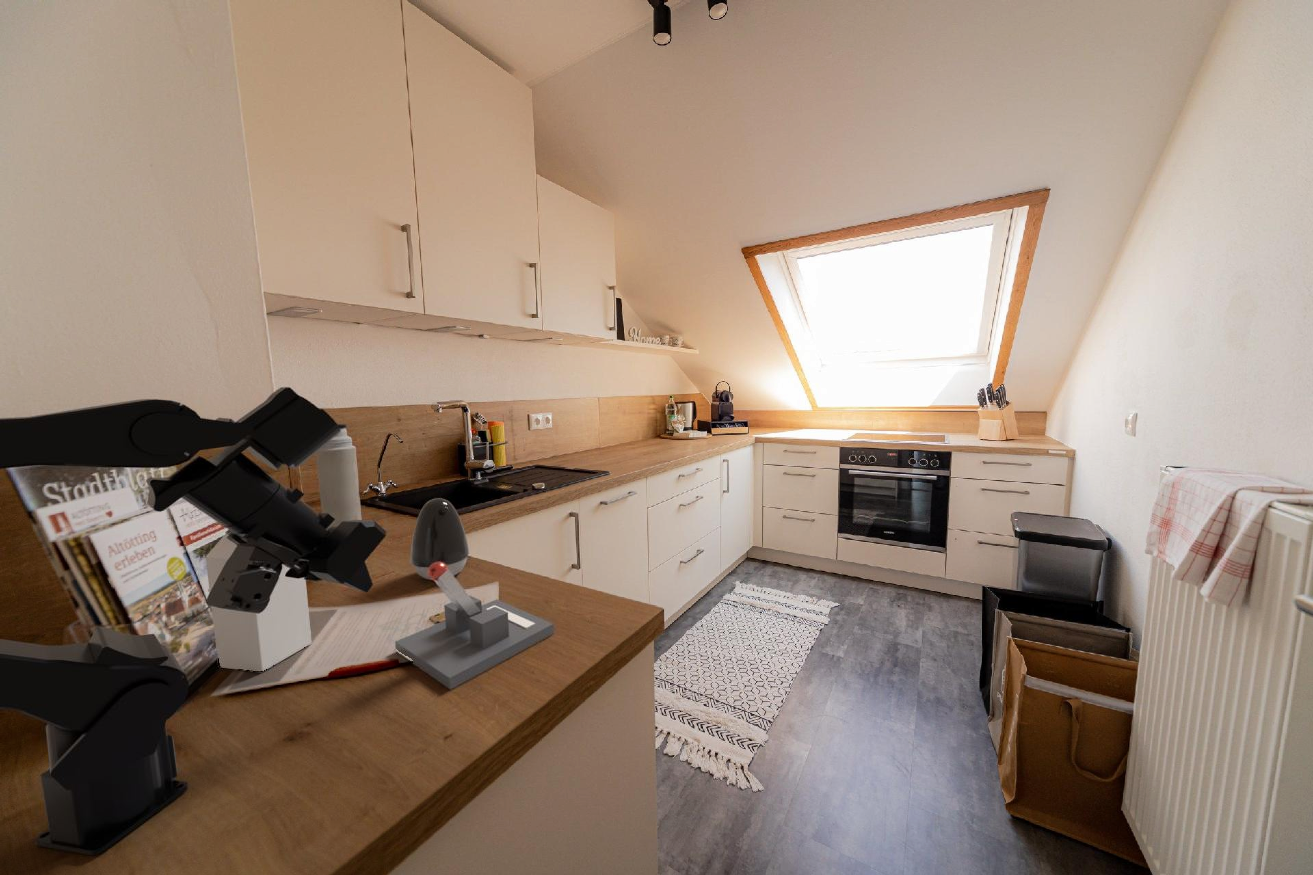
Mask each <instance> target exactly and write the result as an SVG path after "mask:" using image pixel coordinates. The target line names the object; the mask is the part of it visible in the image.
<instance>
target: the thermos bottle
mask: <svg viewBox="0 0 1313 875" xmlns="http://www.w3.org/2000/svg"><path fill="white" fill-rule="evenodd" d="M337 424H338V426H339V427H340V430H341V432H340V433H339V434H337V435H336V436H335V437H334V438H333V439H331V440H330V441H329V442H328V443H327V444H325V445H324V446H323V447H322V448H320V449H319V450H318V451H317V452H316V453H315V455H316V464H317V465H316V466H317V475H318V486H319V487H318V488H319V497H320V506H321V513H328V514H329V515H331V516H332V517H333V518H334V519H335V520H334V521H333V522H332V523H331V524H330V526H329V527H328V528H327V530H328V529H329V528H330V527H333V526H338V525H339V524H340V523H341V522H342V521H350V520H363V519H362V510H361V499H360V493H359V492H360V491H359V490H360V489H359V487H360V486H359V472H358V462H357V461H358V458H357V447H356V446H354V445H353V440H352V436H348V431H347V424H344V423H343V424H342V423H341V424H339V423H337Z"/></svg>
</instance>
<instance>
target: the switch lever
mask: <svg viewBox="0 0 1313 875" xmlns="http://www.w3.org/2000/svg"><path fill="white" fill-rule="evenodd" d="M428 576H429V577H430V578H431V579H432V580H431V581H434V582H435V583H436V585H437V586H438V587H439V589H440V590H441V591H442V592H443V593H444V595H445V596H446V598H448V600H449V601H450V603H453V605H454V606H455V607H456V608H457V609H458V611H459V612H460V613H461V614H462V616H463V617H464V618H465V619H466V621H468V622H469V618H470V617H472V616H475V615H477V614H479V613H482V612H481V611H480V609H479V608H478V607H477V605H476V604H475V603H474V602H473V600H472V599H471V598H470V596H471V595H469V594H468V593H467V592H466V590H465V588H464V587H463V586H462V585H461V583H460V582H459V581H458V579H456V577H455V575H454V576H453V575H452V573H451V572H450V571H449V569H448V567H447V565H446V564H445V563H443V562H435V563H433V564H431V565H430V567H429V569H428Z"/></svg>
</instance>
